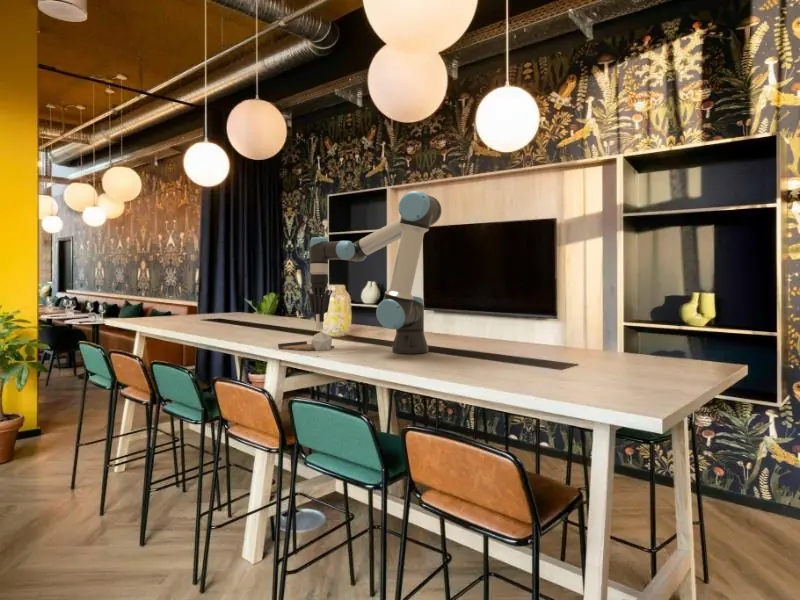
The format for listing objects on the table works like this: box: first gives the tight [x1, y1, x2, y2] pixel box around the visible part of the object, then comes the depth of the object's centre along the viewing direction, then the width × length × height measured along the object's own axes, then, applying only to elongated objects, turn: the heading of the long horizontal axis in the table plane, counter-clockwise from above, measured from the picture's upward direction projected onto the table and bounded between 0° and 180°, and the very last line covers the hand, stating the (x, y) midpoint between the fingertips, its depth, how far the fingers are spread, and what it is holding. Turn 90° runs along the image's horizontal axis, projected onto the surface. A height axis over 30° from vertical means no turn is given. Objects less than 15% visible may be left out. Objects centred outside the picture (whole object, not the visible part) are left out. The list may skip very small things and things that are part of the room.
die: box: [311, 331, 333, 352], centre depth 228 cm, size 8×9×10 cm
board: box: [277, 340, 335, 352], centre depth 235 cm, size 18×16×2 cm
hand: (319, 329), depth 230 cm, fingers closed
